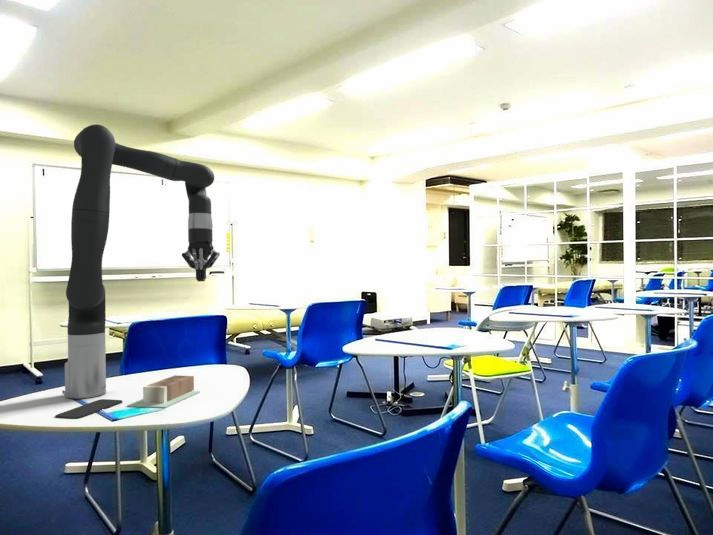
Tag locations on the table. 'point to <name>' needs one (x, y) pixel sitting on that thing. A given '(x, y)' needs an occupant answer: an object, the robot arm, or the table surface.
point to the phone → (88, 409)
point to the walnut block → (168, 389)
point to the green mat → (163, 405)
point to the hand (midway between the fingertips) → (201, 281)
